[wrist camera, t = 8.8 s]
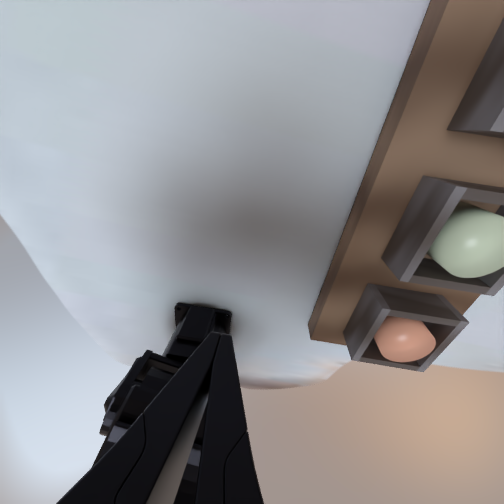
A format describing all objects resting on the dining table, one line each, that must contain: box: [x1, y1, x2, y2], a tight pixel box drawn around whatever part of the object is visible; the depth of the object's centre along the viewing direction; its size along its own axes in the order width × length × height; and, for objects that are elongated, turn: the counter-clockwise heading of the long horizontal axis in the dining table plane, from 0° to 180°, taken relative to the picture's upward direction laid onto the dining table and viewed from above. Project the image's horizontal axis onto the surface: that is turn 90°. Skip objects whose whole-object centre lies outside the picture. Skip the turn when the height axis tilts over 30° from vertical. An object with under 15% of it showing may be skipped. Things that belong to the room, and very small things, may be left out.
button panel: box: [308, 0, 504, 372], centre depth 15 cm, size 28×12×5 cm, turn 172°
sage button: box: [426, 202, 504, 278], centre depth 14 cm, size 4×4×3 cm
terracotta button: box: [374, 315, 436, 362], centre depth 19 cm, size 4×4×3 cm
